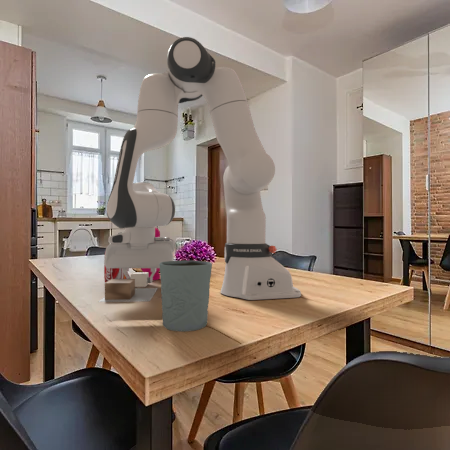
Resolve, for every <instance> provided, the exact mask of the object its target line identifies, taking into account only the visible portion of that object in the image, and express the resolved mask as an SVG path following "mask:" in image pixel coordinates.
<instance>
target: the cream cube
mask: <svg viewBox="0 0 450 450" xmlns="http://www.w3.org/2000/svg"><path fill="white" fill-rule="evenodd" d="M148 273H149V272H143V271H142V272H140V271H139V272H138V271H137V272H132V273H131V274H130V277H131V279H135V288H136V287H138V288H145V287H146V288H147V286H148V285H149V283H147V277H148Z"/></svg>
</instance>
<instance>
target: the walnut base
mask: <svg viewBox="0 0 450 450" xmlns="http://www.w3.org/2000/svg"><path fill="white" fill-rule="evenodd" d="M135 288H136V287H135V279H111V280H109V281H108V282H106V283H105V282H104V297H105V300H127V299H131V298H132V297H133V296H134V295H135Z"/></svg>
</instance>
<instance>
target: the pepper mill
mask: <svg viewBox="0 0 450 450" xmlns="http://www.w3.org/2000/svg"><path fill="white" fill-rule="evenodd" d="M150 228H155V237H161V232H160V230H159V229H158V228H157V227H156V226H155V227H150ZM140 270H141V271H142V272H149V273H148V277H150V276H151V274H152V272H151V268H140ZM157 280H161V279H160V268H156V272H155V274H154V276H153V281H157Z"/></svg>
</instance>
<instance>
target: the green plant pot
mask: <svg viewBox="0 0 450 450" xmlns="http://www.w3.org/2000/svg"><path fill="white" fill-rule="evenodd" d="M159 266H160V271H159V274H160V279H159V280H160V289H161V291H160V295H161V311H162V316H161V317H162V325H163V327H164V329H166V330H169V331H174V332H194V331H198V330H201V329H204V328H205V327H206V326H207V323H208V317H209V315H208V314H209V312H208V309H209V303H210V302H209V301H210V289H211V288H210V287H211V286H210V284H211V276H212V268H213V267H212V266H213V263H212V262H210V261H205V260H204V261H202V260H174V261H166V262H161V263H160V264H159Z"/></svg>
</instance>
